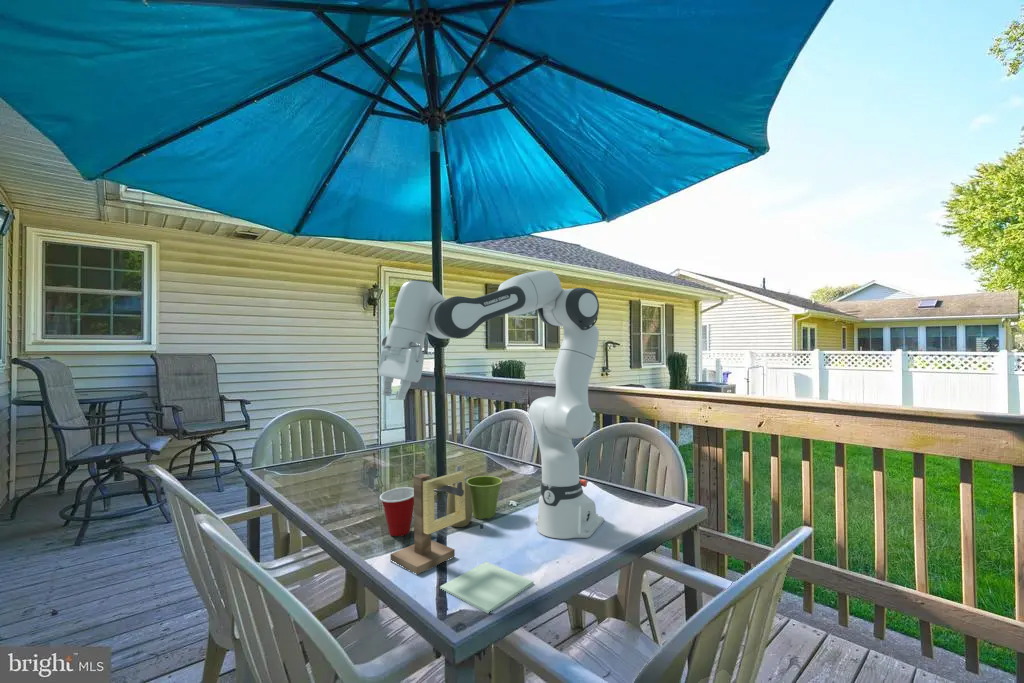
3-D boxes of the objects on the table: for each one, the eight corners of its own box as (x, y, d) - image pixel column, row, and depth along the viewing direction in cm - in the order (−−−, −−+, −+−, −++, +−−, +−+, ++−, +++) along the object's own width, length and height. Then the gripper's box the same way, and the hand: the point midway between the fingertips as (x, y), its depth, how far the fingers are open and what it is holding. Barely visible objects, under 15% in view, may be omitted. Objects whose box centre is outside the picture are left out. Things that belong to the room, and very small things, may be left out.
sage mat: (486, 564, 112) (486, 561, 112) (533, 583, 102) (533, 581, 102) (439, 588, 101) (439, 586, 101) (487, 613, 91) (487, 610, 91)
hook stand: (427, 545, 123) (426, 464, 124) (480, 568, 110) (479, 476, 110) (390, 561, 114) (389, 473, 115) (443, 588, 101) (441, 488, 101)
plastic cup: (373, 533, 132) (372, 492, 132) (405, 523, 140) (404, 484, 140) (391, 544, 124) (391, 501, 125) (424, 533, 132) (424, 492, 132)
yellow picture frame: (461, 517, 114) (460, 470, 115) (465, 519, 113) (464, 471, 114) (423, 532, 105) (422, 481, 106) (427, 534, 104) (427, 483, 105)
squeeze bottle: (460, 517, 144) (459, 461, 144) (478, 523, 139) (477, 464, 139) (441, 525, 138) (440, 466, 138) (459, 531, 133) (458, 470, 133)
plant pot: (498, 523, 138) (497, 486, 138) (461, 521, 141) (461, 485, 141) (506, 510, 150) (505, 476, 150) (472, 508, 152) (471, 474, 152)
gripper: (434, 345, 105) (421, 404, 103) (402, 345, 121) (390, 395, 120) (409, 339, 101) (396, 400, 99) (379, 339, 118) (367, 391, 116)
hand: (392, 397), depth 110 cm, fingers open, 8 cm apart
